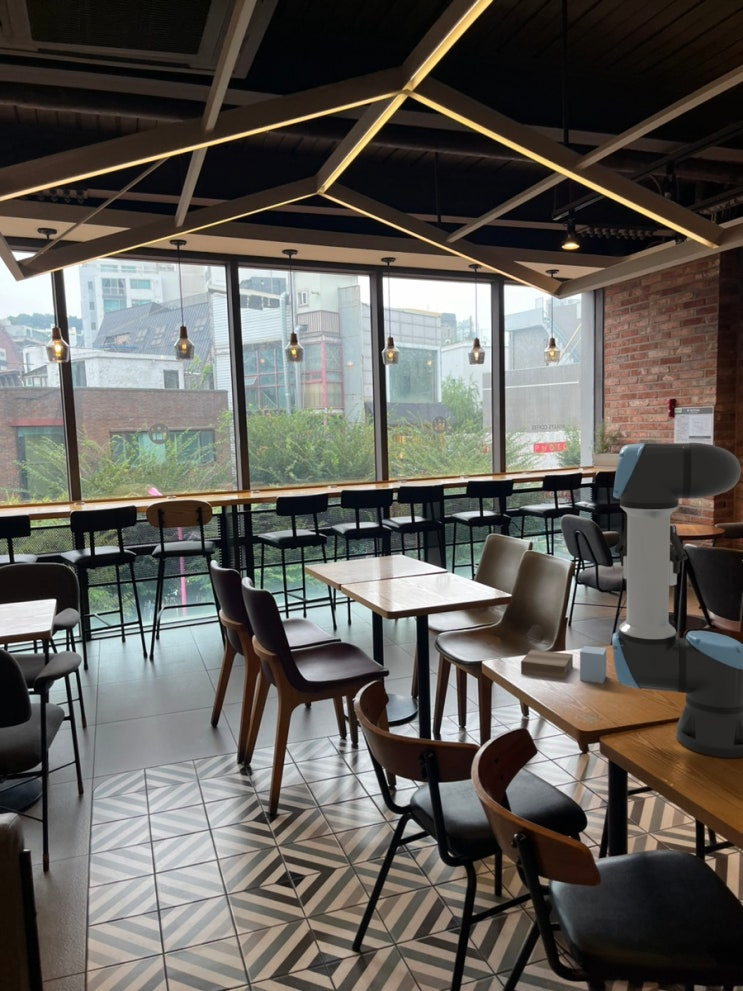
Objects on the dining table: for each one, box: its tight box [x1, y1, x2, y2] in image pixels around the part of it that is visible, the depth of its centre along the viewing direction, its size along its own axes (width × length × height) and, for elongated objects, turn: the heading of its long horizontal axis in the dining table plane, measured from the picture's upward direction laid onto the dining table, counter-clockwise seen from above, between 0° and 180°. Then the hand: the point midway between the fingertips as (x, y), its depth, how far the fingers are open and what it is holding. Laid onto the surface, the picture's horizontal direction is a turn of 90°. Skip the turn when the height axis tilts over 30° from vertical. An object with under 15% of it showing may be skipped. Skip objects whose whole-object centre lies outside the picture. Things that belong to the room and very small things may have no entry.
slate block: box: [579, 645, 607, 684], centre depth 190 cm, size 6×6×8 cm
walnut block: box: [520, 649, 574, 681], centre depth 198 cm, size 12×12×4 cm
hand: (649, 581), depth 195 cm, fingers open, 13 cm apart
